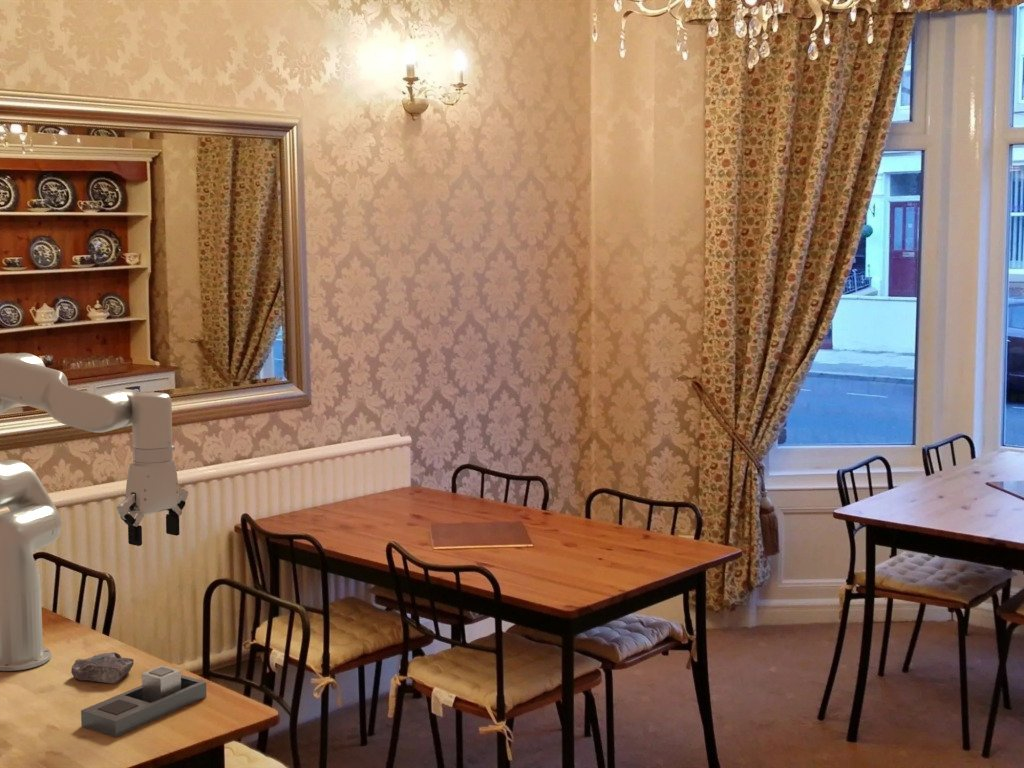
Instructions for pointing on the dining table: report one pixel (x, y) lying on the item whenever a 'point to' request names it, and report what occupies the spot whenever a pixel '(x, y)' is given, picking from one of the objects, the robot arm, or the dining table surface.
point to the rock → (102, 668)
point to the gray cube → (160, 683)
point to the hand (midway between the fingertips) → (154, 539)
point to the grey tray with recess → (138, 708)
